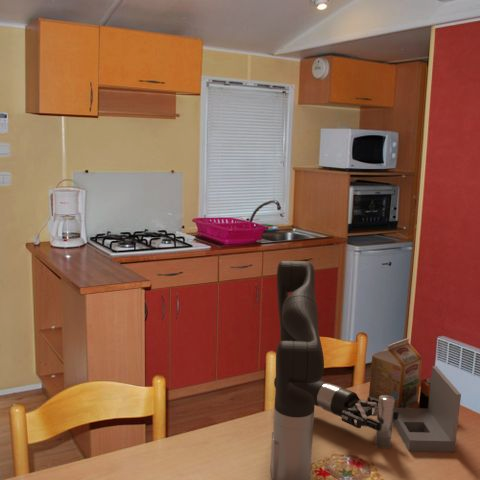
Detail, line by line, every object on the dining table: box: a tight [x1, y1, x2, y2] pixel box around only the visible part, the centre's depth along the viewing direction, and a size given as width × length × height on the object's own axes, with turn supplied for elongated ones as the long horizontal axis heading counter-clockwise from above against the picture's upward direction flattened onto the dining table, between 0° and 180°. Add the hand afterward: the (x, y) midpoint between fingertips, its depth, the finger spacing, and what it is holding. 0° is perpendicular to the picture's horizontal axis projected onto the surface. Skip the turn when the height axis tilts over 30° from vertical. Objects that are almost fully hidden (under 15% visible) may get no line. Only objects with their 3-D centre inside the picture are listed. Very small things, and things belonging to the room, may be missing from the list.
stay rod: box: [374, 395, 395, 449], centre depth 155 cm, size 4×4×13 cm
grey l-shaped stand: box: [392, 365, 462, 453], centre depth 161 cm, size 12×18×16 cm, turn 1°
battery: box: [418, 378, 431, 409], centre depth 176 cm, size 4×7×10 cm, turn 100°
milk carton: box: [368, 338, 423, 408], centre depth 181 cm, size 11×11×19 cm
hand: (389, 421), depth 155 cm, fingers open, 8 cm apart
